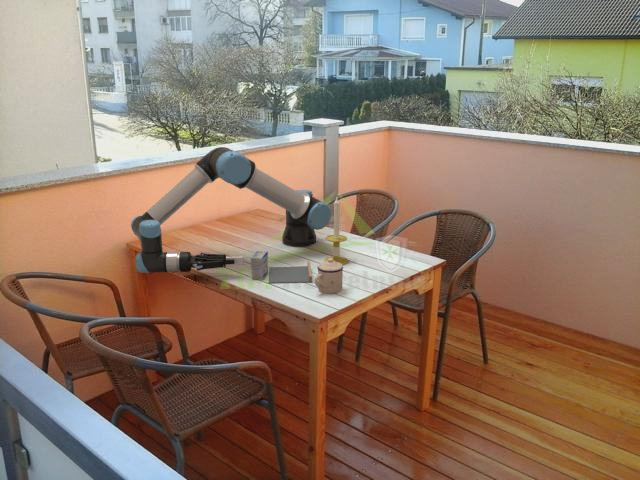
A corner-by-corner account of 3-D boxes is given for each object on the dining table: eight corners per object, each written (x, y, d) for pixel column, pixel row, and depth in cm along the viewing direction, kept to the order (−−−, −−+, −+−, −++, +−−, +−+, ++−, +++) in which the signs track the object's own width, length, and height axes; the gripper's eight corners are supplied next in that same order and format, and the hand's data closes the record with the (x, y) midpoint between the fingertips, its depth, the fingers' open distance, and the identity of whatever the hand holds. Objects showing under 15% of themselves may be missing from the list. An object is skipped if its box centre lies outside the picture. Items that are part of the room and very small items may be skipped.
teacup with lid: (329, 282, 217) (330, 252, 214) (348, 289, 211) (348, 258, 207) (306, 291, 209) (306, 260, 205) (324, 299, 203) (324, 267, 199)
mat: (309, 267, 232) (309, 261, 232) (312, 282, 217) (312, 276, 217) (269, 268, 231) (268, 262, 231) (268, 283, 216) (268, 277, 216)
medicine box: (263, 280, 220) (262, 258, 217) (251, 279, 220) (250, 257, 218) (268, 272, 227) (267, 251, 224) (257, 271, 228) (256, 250, 225)
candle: (344, 266, 233) (345, 200, 224) (320, 263, 236) (320, 198, 228) (351, 258, 242) (353, 194, 233) (328, 255, 245) (329, 192, 237)
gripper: (183, 265, 227) (245, 263, 229) (177, 277, 215) (243, 276, 216) (181, 246, 225) (244, 245, 226) (176, 258, 212) (242, 256, 214)
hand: (243, 260), depth 221 cm, fingers closed
